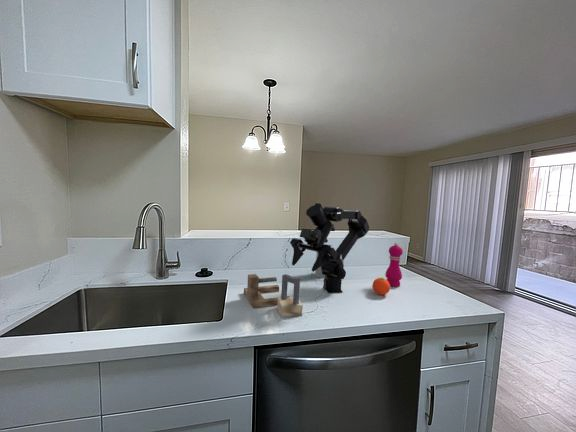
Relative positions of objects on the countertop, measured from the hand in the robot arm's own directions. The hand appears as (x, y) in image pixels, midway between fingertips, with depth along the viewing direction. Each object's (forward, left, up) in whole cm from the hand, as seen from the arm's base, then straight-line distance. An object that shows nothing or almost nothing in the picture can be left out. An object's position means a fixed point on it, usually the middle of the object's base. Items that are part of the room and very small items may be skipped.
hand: (302, 267), depth 92 cm
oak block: (+5, +5, -13) cm, 15 cm away
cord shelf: (+10, -7, -13) cm, 18 cm away
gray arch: (+5, +5, -10) cm, 12 cm away
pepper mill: (-50, -16, -14) cm, 54 cm away
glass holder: (-24, -31, -14) cm, 41 cm away
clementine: (-37, -6, -14) cm, 40 cm away
